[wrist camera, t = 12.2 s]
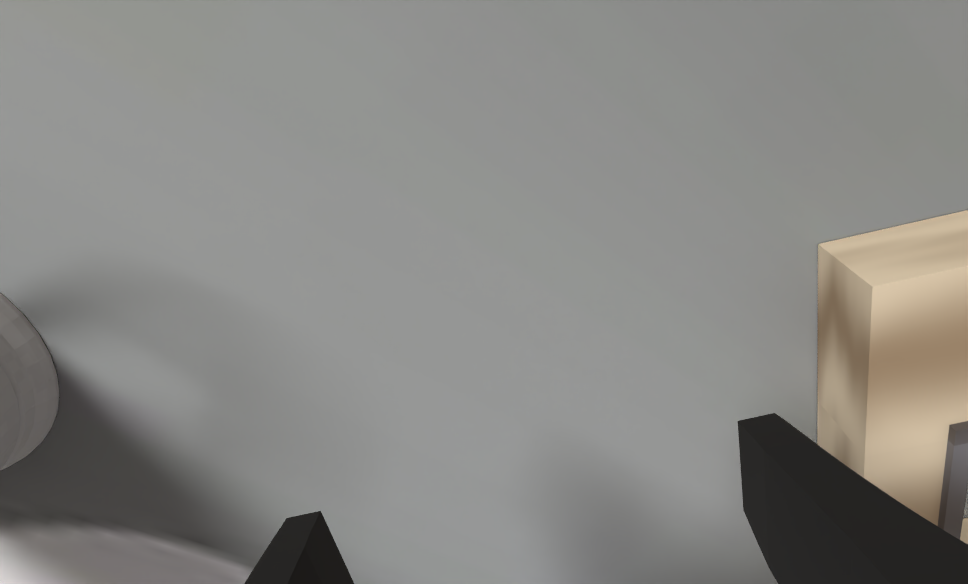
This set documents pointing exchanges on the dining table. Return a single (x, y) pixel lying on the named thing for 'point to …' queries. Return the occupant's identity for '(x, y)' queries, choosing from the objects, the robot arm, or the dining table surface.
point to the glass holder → (24, 386)
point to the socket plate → (898, 362)
